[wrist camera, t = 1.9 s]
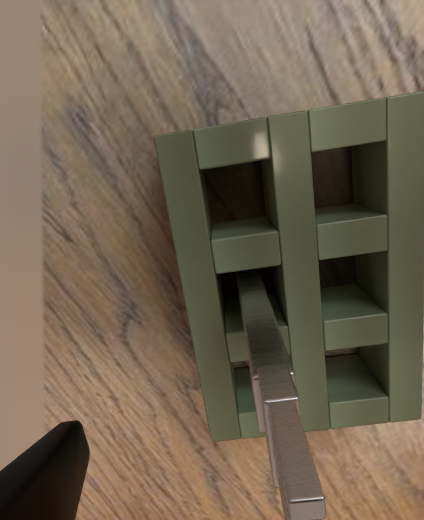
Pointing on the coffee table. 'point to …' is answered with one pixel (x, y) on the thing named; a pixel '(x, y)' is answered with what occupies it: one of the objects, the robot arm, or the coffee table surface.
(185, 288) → the rack
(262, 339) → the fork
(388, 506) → the coffee table surface
